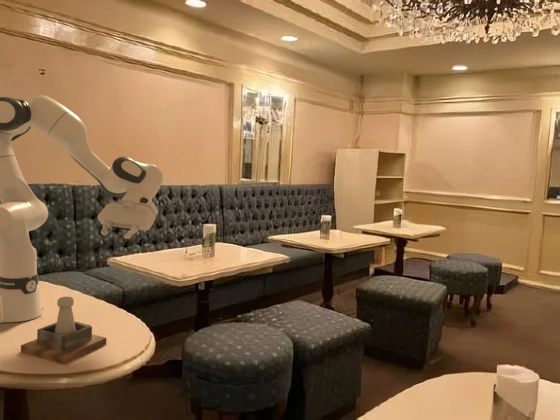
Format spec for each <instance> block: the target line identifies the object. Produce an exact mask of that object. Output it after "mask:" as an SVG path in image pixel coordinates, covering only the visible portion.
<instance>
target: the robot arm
mask: <svg viewBox="0 0 560 420" xmlns="http://www.w3.org/2000/svg"><path fill="white" fill-rule="evenodd" d="M31 128H36V129H39V130H41V131H42V132H43V133H45V134H46V135H47V136H48V137H50V138H51V139H52V140H53V141H55V142H56V143H57V144H58V145H59V146H61V148H63V149H64V151H66V153H67V154H68V155H69V156H70V157H71V158H72V159H73V160H74V161H75V162H76V163H77V164H78V165H80V167H82V168H83V169H84V171H86V172H87V173H89V175H90V176H92V177H93V178H94V179H95V180H96V181H97V182H98V184H99V185H100V187H101V188H102V190H103V192H105V193H106V194H107V195H109V196H111V197H113V198H122V199H121V200H120V201H112V202H108V204H106V205H105V206H104V208H102V209H101V211H100V212H99V214H98V215H97V220H98V222H99V223H100V224H101V225H102V229H101V230H100V234H101V235H102V236H108V234H109V233H110V231H109V230H108V229H109V228H110V227H111V226H112V227H117V228H125V229H129V230H128V231H125V232H124V234H123V237H124V239H127V240H130V239H131V237H132V236H133V235H135V234H136V233H138V231H149V230H150V229H151V228H152V227H153V225H154V222H155V221H156V218H157V217H156V216H157V215H158V214H159V209H158V208H157V206H156V204H155V203H154V202H153V201H152V200H153V198H155V196H156V195H157V194H158V192H159V190H160V188H161V186H162V183H163V180H164V174H163V172H162V170H161V169H160V168H159V167H158V166H156V165H155V164H153V163H142V162H140V161H139V162H138V161H136V160H135V159H133V158H131V157H128V156H121V157H120V156H119V157H117V158H116V159H114V161H113V162H112V164H111V165H110V167H109V166H108V165H107V164H106V163H105V162H104V160H101V158H100V157H98V156H97V154H95V153H94V152H93V150H92V149H91V146H90V144H89V138H88V130H87V126H86V124H85V123H84V122H83V120H81V118H80V117H79V116H77V114H75V113H74V112H72V111H71V110H70V109H69V108H67V107H66V106H64V105H63V104H62V103H60V102H59V101H57V100H55V99H54V98H52V97H49V96H47V95H43V94H41V95H37V96H35V97H33V98H31V99H30V101H29V102H27V101H26V100H25V99H24V100H23V99H19V98H15V97H8V96H0V324H2V323H3V324H4V323H19V322H25V321H29V320H33V319H36V318H39V317H41V315H42V314H43V308H44V306H43V305H42V304H41V302H42V301H41V294H40V287H39V285H38V284H39V277H40V276H39V273H38V271H37V270H38V267H37V265H38V261H37V260H38V254H37V253H38V252H37V249H36V248H35V247H34V246H33V245H32V242H31V239H30V235H29V233H30V231H34V230H35V231H36V230H37V229H39V228H40V227H41V226H43V225H44V224H45V223H46V221H47V220H48V218H49V209H48V207H47V205H46V204H45V203H44V202H43V201H42V200H40V199H39V198H38V197H37V196H36V195H35V192H33V190H32V189H31V187H30V185H28V183H27V181H26V179H25V177H24V175H23V173H22V171H21V167H20V166H19V162H18V160H17V157H16V154H15V151H14V149H13V147H12V146H13V145H12V142H14V140H16V139H18V138H20V137H21V136H23V135H25V134H27V133H28V132H29V131H30V129H31Z"/></svg>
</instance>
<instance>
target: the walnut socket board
mask: <svg viewBox="0 0 560 420" xmlns="http://www.w3.org/2000/svg"><path fill="white" fill-rule="evenodd" d="M56 323H57V322H53V323H51V324H49V325H46V326H43V327H41V328H38V329H37V330H36V331H37V333H36V339H33V340H31V341H28V342H25V343H23V344H21V345H20V353H23V354H27V355H29V356H32V357H33V356H34V357H35V358H36V357H37V358H40V359H44V360H47V361H51V362H55V363H58V364H62V365H66V364H69V363H70V362H73V361H74V360H77V359H79V358H81V357H83V356H85V355H87V354H89V353H91V352H93V351H95V350H97V349H99V348H101V347H102V348H103V346H105V345H107V337H105V336H100V335H96V334H93V326H91V325H90V324H87V323H83V322H79V321H75V320H74V323H75V328H76V331H75V332H72V333H70V334H68V335H65V336H64V335H60V334H56V333H55V328H56Z"/></svg>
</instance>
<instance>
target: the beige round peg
mask: <svg viewBox="0 0 560 420" xmlns="http://www.w3.org/2000/svg"><path fill="white" fill-rule="evenodd" d="M74 303H75V301H74V298H73V296H62V297H60V298H58V299H57V303H56V304H57V306H58V313H57V314H58V315H57V320H56V322H55V323H56V328H55V333H56V334H60V335H64V336H65V335H68V334H70V333H72V332H75V331H76V328H75V323H74V321H75V319H74V314H73V313H74V312H73V308H72V307H73V305H74Z"/></svg>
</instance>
